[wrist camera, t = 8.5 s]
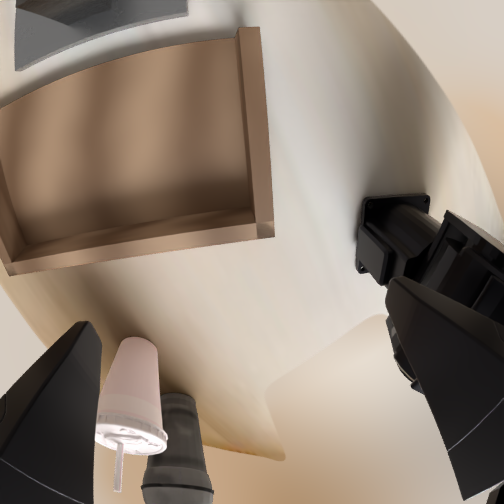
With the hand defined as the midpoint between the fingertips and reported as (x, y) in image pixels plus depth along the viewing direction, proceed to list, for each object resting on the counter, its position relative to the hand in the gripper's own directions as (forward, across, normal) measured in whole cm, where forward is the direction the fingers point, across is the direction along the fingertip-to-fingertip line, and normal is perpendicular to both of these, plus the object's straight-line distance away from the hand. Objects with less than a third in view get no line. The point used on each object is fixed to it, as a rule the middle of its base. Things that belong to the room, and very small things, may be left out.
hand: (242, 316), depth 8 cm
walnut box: (+12, +7, -4) cm, 14 cm away
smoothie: (+12, +10, +14) cm, 21 cm away
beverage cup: (+12, +9, +24) cm, 28 cm away
